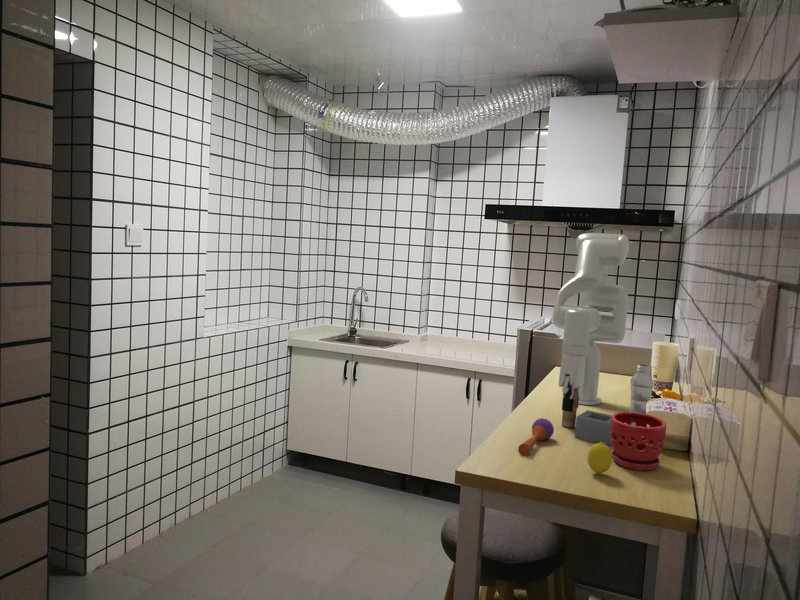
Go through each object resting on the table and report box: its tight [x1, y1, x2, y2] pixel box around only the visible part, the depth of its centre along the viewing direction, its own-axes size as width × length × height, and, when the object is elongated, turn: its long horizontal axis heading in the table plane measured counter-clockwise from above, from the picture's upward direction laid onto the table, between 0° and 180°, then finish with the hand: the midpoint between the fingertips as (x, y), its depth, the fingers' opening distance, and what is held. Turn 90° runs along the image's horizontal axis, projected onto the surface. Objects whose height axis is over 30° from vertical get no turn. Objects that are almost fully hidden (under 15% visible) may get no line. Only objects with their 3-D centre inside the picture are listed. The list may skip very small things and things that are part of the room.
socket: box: [574, 409, 613, 446], centre depth 176 cm, size 10×10×6 cm
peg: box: [561, 386, 579, 429], centre depth 184 cm, size 4×4×14 cm
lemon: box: [587, 442, 613, 475], centre depth 146 cm, size 6×6×8 cm
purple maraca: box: [518, 417, 555, 457], centre depth 165 cm, size 6×6×20 cm
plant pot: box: [610, 411, 667, 471], centre depth 154 cm, size 13×13×12 cm
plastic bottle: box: [628, 363, 654, 427], centre depth 186 cm, size 6×7×20 cm
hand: (569, 408), depth 185 cm, fingers closed on peg, 4 cm apart
